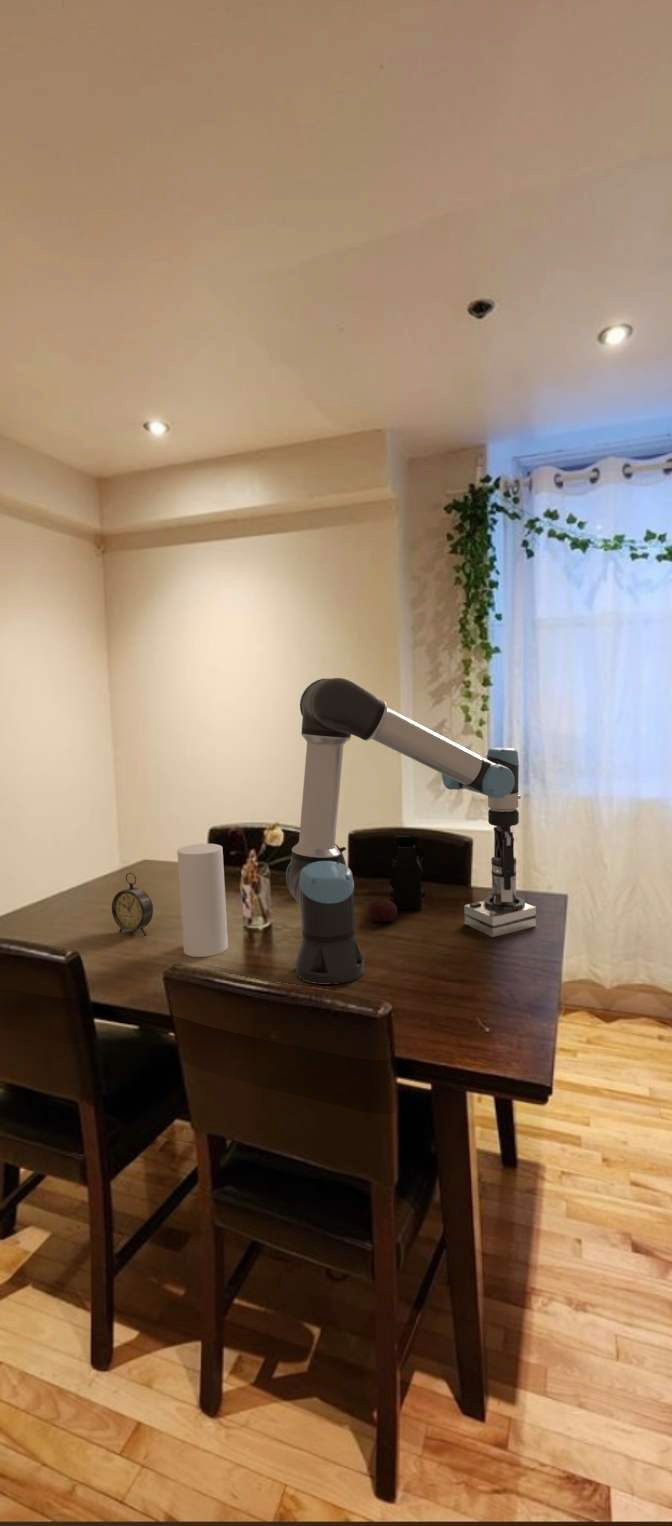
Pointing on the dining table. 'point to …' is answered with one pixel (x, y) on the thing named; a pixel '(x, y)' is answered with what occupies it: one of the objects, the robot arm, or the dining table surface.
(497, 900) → the lens
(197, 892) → the tall pillar cylinder
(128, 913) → the alarm clock
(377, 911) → the potato
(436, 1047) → the dining table surface
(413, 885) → the camera
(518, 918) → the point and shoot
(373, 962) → the dining table surface
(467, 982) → the dining table surface
